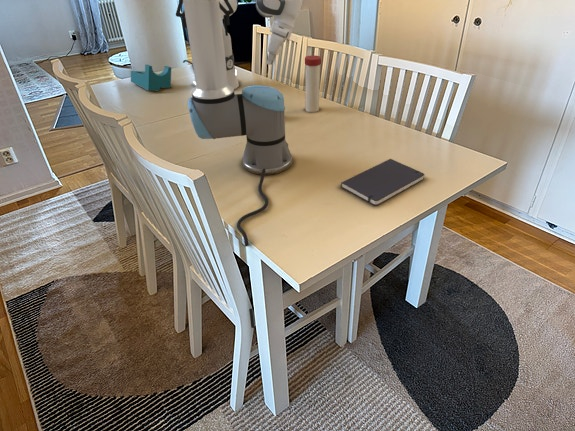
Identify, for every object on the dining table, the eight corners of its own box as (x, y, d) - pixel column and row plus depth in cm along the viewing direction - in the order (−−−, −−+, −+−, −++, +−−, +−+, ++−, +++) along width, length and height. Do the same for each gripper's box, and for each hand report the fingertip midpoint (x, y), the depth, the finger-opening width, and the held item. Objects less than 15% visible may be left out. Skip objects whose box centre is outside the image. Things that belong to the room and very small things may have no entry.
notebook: (389, 163, 124) (340, 187, 113) (390, 158, 123) (341, 182, 112) (424, 178, 116) (375, 206, 105) (425, 174, 115) (376, 201, 104)
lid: (301, 63, 152) (301, 56, 151) (315, 60, 155) (315, 54, 153) (310, 66, 148) (310, 60, 147) (324, 64, 150) (324, 58, 149)
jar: (302, 108, 163) (302, 58, 151) (314, 106, 165) (315, 56, 153) (310, 113, 159) (310, 61, 147) (321, 110, 161) (323, 59, 149)
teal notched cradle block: (170, 90, 188) (171, 67, 184) (148, 90, 181) (148, 66, 177) (152, 82, 199) (152, 60, 195) (130, 81, 192) (130, 58, 187)
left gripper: (275, 30, 178) (264, 61, 182) (271, 26, 159) (259, 61, 163) (288, 35, 178) (277, 66, 183) (286, 33, 159) (274, 67, 164)
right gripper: (235, -35, 140) (241, 31, 152) (161, -31, 136) (173, 36, 149) (237, -33, 134) (243, 36, 146) (160, -30, 130) (172, 40, 143)
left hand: (269, 64), depth 173 cm, fingers open, 8 cm apart
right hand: (208, 36), depth 147 cm, fingers open, 13 cm apart
